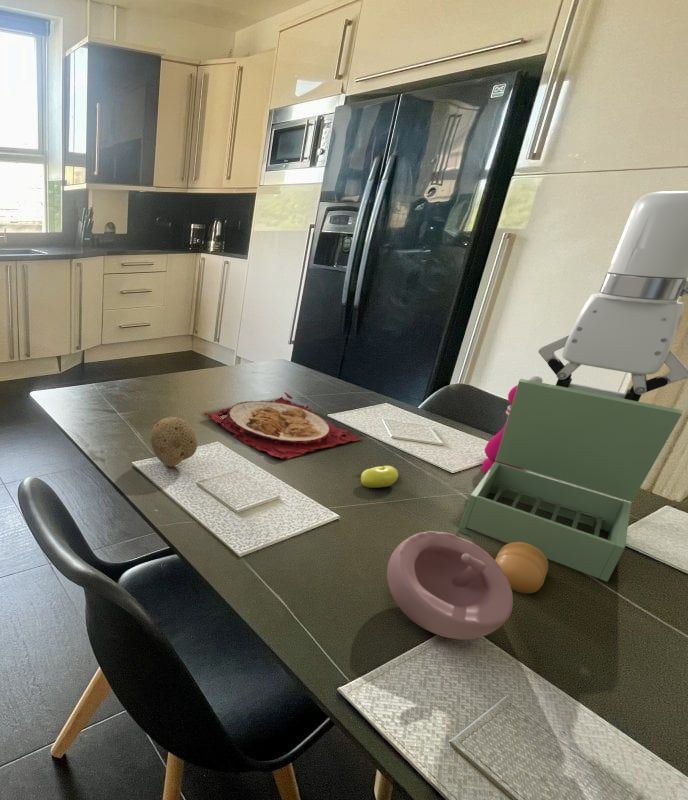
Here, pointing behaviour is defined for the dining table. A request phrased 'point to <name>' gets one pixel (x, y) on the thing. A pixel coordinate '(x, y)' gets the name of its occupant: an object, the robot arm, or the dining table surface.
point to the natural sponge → (173, 441)
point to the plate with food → (280, 427)
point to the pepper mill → (500, 435)
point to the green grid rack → (596, 524)
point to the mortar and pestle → (449, 585)
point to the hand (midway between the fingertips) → (588, 408)
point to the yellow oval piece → (379, 476)
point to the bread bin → (546, 534)
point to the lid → (585, 436)
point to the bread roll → (523, 566)
